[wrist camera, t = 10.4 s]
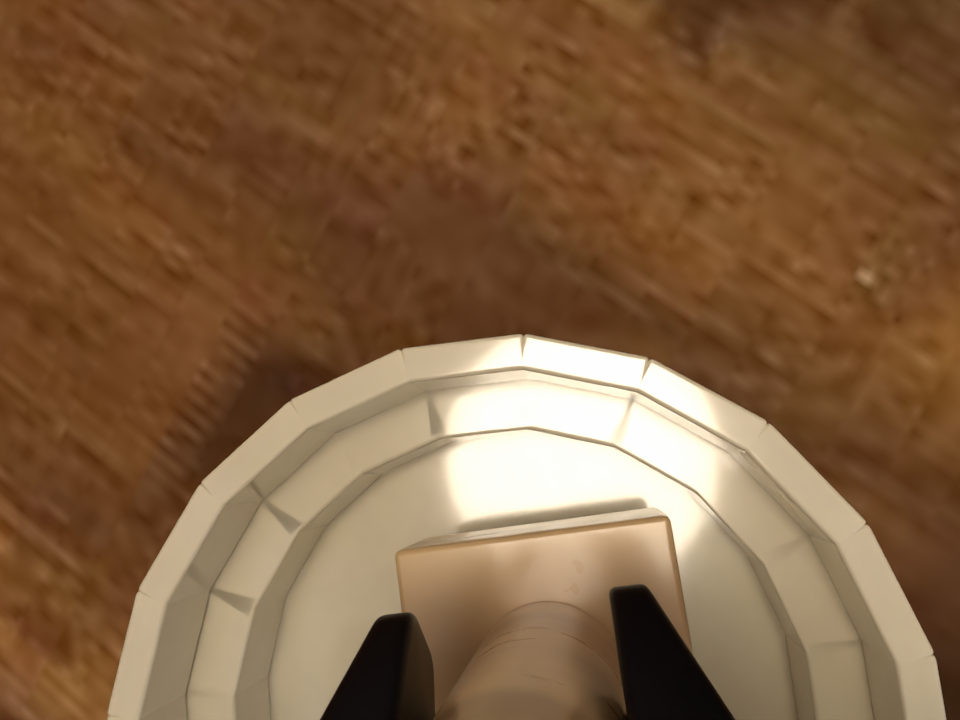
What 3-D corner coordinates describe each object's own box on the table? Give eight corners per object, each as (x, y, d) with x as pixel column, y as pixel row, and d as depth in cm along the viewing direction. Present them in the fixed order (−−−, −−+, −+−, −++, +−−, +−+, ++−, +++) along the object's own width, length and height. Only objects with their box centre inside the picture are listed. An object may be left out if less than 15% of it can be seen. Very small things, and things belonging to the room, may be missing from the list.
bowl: (657, 1200, 16) (677, 1449, 12) (102, 792, 18) (-37, 884, 14) (994, 575, 16) (1123, 611, 12) (412, 257, 18) (362, 201, 15)
